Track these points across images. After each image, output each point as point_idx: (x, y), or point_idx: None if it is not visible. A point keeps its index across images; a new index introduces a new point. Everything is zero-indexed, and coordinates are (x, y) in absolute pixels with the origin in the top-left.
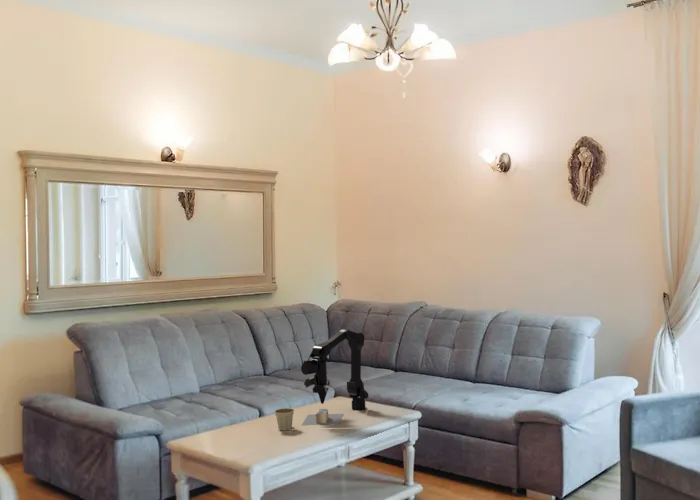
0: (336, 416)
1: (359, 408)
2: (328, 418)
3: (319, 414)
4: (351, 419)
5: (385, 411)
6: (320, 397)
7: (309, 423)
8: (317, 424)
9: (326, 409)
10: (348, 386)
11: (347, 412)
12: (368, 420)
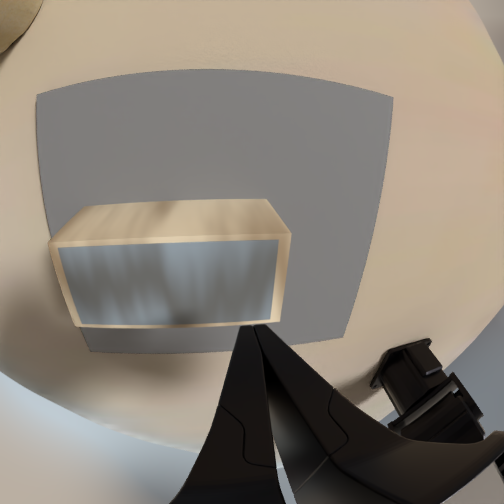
0: (288, 316)
1: (385, 378)
2: None
3: (60, 274)
4: None
5: None
6: (217, 416)
7: (77, 147)
8: (56, 223)
9: (239, 317)
10: (464, 433)
11: (383, 333)
12: (207, 424)
